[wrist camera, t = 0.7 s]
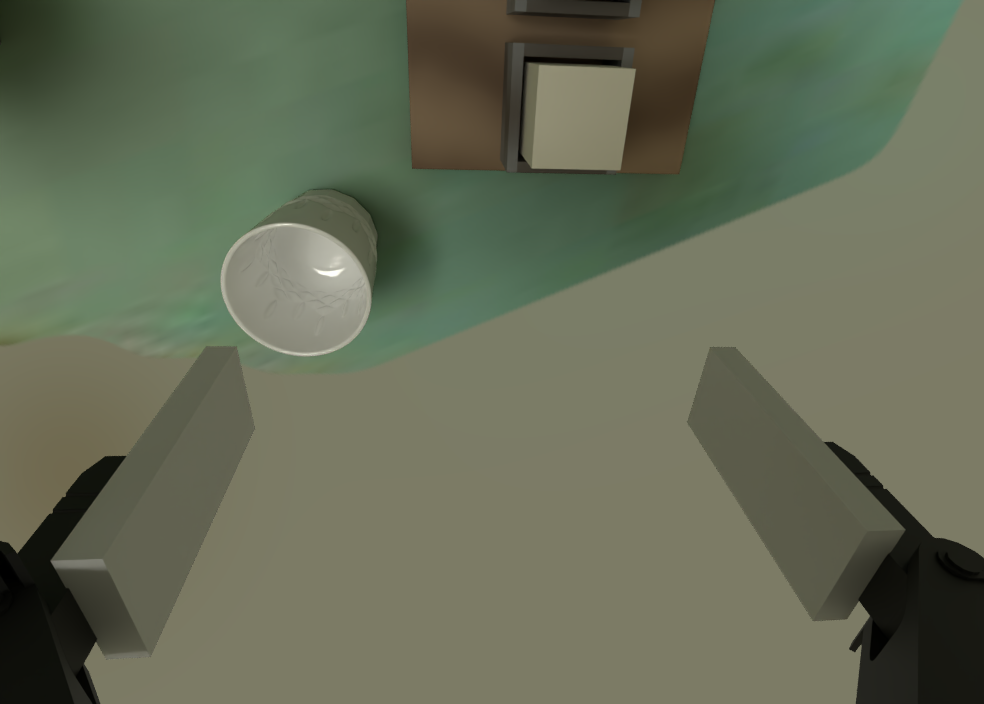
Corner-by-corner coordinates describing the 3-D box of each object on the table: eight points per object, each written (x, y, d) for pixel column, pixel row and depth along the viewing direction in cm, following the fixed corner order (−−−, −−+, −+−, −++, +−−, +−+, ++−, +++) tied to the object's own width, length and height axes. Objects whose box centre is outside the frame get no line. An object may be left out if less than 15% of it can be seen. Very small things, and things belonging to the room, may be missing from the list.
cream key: (524, 61, 30) (539, 65, 26) (608, 65, 30) (635, 68, 26) (519, 151, 32) (531, 168, 28) (596, 153, 33) (620, 170, 29)
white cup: (401, 207, 37) (390, 257, 28) (366, 303, 40) (346, 373, 32) (287, 159, 35) (237, 198, 26) (259, 265, 38) (207, 330, 30)
